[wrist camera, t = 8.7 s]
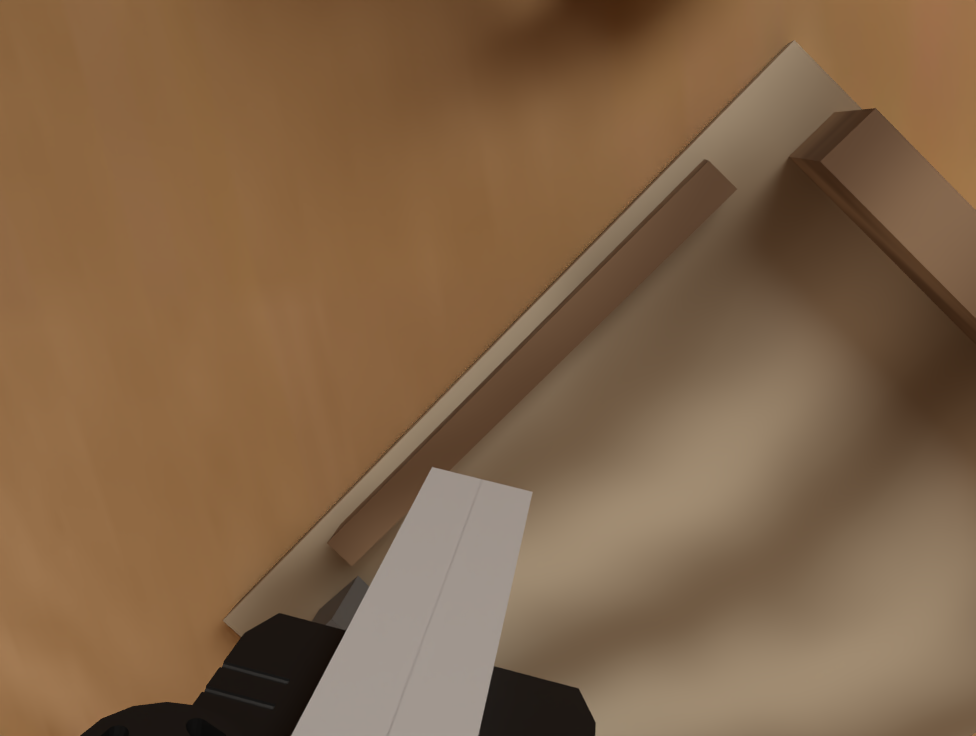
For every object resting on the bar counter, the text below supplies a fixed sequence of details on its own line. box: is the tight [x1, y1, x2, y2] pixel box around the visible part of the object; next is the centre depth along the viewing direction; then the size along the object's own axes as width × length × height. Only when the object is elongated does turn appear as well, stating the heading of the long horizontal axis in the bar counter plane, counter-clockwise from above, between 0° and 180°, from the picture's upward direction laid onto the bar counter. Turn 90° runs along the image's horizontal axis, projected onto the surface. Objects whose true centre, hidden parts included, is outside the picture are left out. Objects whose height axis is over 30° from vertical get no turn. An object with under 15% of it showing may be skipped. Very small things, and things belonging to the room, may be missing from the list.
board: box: [223, 40, 976, 736], centre depth 25 cm, size 18×24×5 cm
